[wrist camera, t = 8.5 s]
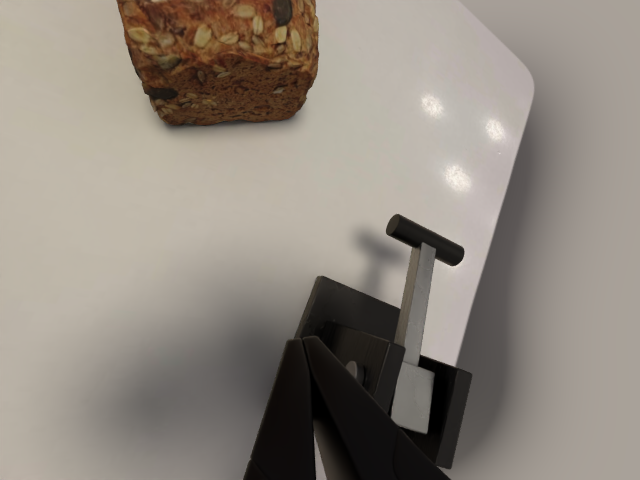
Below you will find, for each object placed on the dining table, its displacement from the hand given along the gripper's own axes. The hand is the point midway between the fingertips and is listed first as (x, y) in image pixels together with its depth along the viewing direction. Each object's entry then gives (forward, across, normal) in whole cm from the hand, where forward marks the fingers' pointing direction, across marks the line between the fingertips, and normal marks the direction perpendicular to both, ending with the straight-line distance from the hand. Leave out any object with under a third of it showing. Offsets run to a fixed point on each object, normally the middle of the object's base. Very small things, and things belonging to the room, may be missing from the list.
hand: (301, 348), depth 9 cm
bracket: (+10, -4, +12) cm, 16 cm away
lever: (+7, -7, +6) cm, 11 cm away
